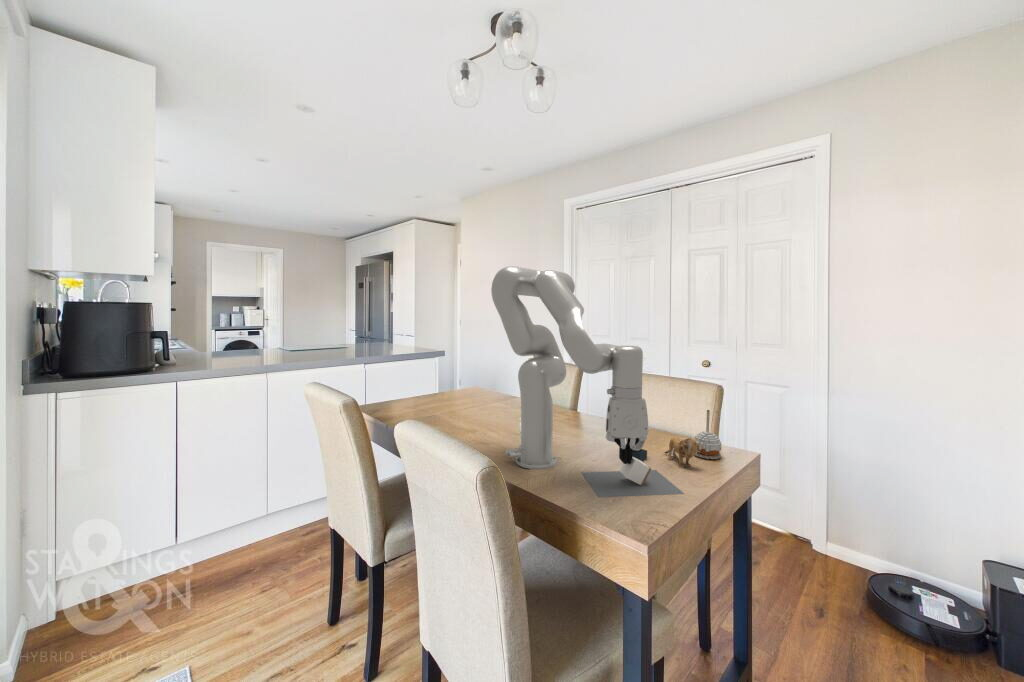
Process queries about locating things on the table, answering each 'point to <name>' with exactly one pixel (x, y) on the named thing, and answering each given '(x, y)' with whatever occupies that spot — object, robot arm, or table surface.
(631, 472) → the block
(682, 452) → the lion figurine
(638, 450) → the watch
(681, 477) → the table surface
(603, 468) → the table surface
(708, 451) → the decorative ornament
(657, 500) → the table surface
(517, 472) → the table surface
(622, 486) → the mat
